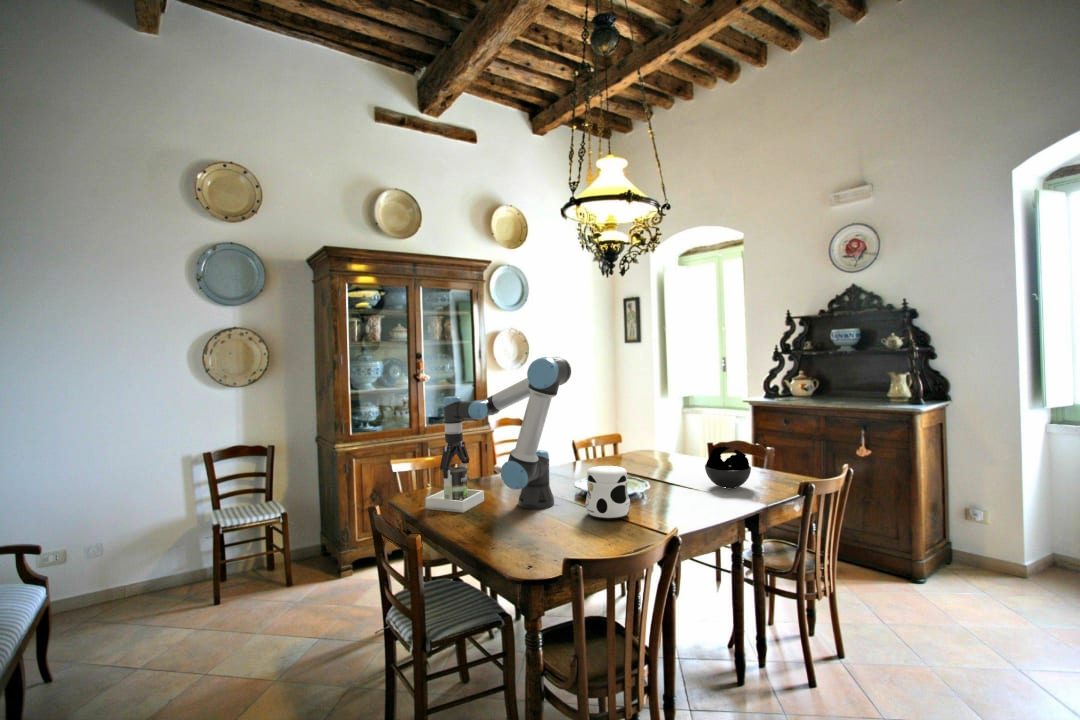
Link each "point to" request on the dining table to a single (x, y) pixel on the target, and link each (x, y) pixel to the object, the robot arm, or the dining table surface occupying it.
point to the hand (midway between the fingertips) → (456, 482)
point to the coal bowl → (727, 468)
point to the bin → (454, 501)
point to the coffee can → (457, 484)
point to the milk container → (607, 492)
